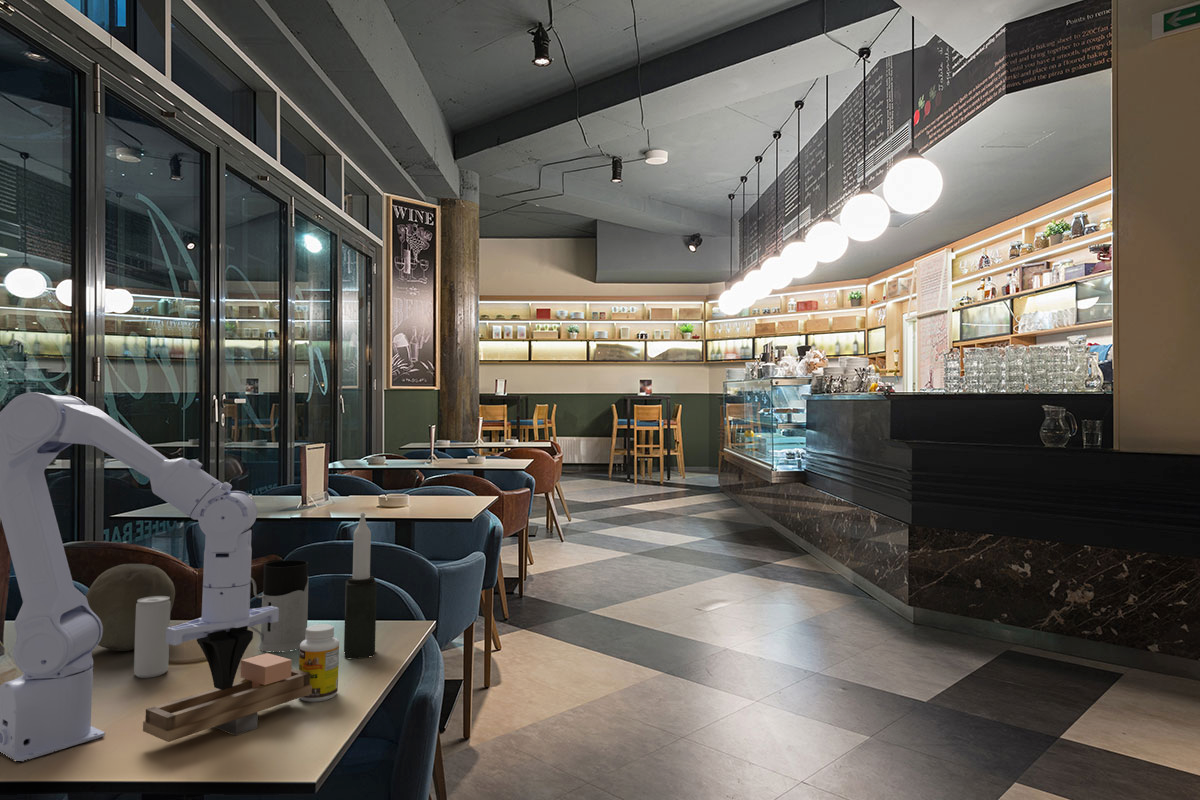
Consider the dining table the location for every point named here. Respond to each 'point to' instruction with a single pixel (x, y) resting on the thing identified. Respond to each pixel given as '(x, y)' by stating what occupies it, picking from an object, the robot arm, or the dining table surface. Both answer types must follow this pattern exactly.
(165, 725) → the beam
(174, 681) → the dining table surface
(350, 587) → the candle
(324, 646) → the supplement bottle
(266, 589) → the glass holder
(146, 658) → the beverage can
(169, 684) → the dining table surface
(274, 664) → the rider
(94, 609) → the cantaloupe
